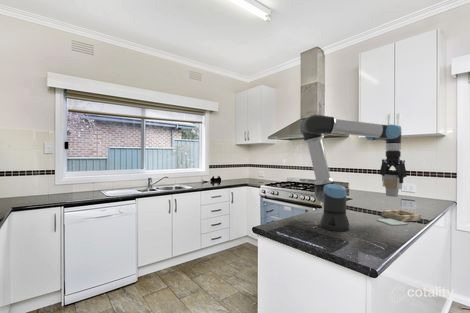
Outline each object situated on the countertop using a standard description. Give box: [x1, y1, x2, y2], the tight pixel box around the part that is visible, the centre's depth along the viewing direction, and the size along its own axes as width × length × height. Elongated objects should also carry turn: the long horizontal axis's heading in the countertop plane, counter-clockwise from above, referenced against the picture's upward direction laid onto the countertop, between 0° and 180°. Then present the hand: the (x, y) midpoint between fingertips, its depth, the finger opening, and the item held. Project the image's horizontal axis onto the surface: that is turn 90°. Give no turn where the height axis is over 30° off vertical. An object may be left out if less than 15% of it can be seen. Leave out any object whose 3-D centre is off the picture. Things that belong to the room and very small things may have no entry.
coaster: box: [376, 218, 409, 227], centre depth 142 cm, size 11×11×1 cm
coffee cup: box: [384, 170, 400, 198], centre depth 143 cm, size 9×9×15 cm
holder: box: [382, 209, 422, 223], centre depth 152 cm, size 14×14×4 cm
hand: (392, 187), depth 143 cm, fingers closed on coffee cup, 9 cm apart
